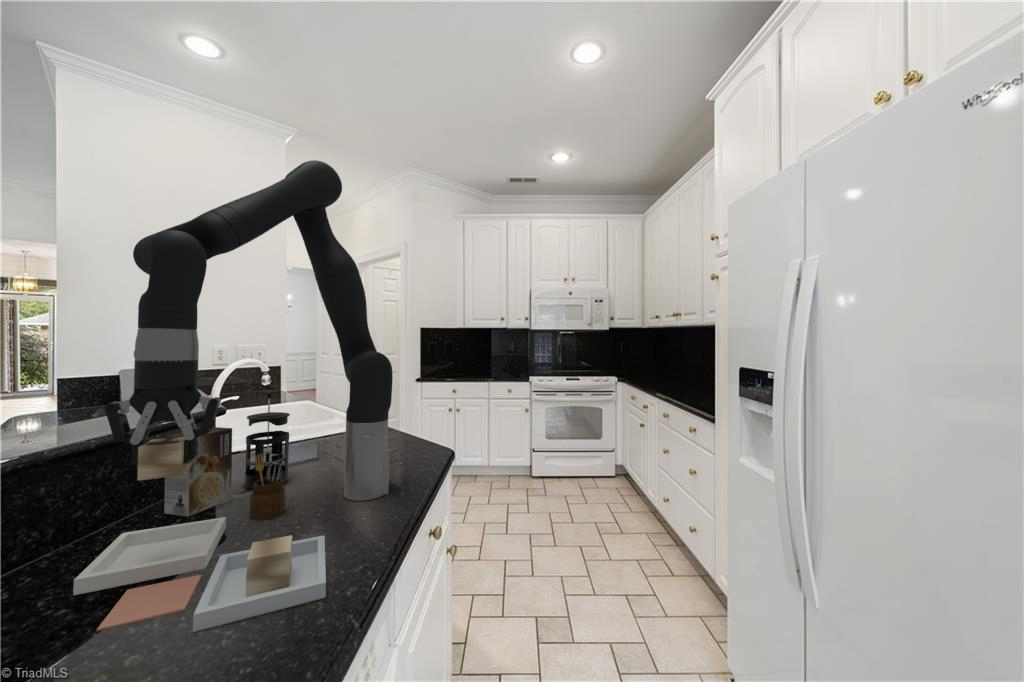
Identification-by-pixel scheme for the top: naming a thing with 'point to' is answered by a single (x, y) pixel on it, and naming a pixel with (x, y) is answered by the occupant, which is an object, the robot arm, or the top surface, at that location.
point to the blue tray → (231, 604)
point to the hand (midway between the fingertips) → (165, 464)
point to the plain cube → (269, 565)
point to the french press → (276, 442)
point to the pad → (151, 602)
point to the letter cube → (161, 458)
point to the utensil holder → (267, 495)
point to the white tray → (152, 555)
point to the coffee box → (202, 476)
